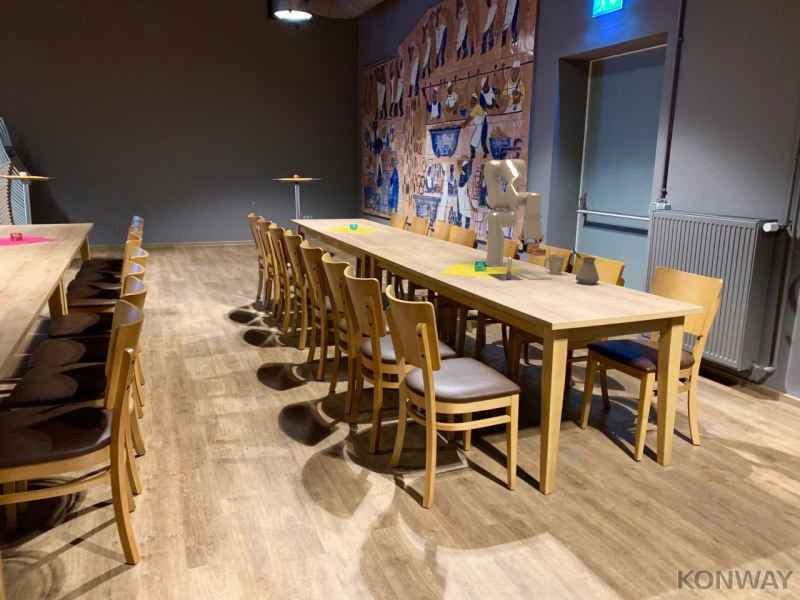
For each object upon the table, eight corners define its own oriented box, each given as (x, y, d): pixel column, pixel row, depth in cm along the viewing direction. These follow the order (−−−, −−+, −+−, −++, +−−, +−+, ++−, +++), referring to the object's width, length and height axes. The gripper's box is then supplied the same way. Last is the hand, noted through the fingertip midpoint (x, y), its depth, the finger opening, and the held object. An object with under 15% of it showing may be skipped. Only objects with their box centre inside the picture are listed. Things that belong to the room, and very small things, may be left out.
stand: (486, 276, 329) (488, 253, 326) (509, 275, 332) (511, 253, 329) (500, 282, 312) (501, 258, 309) (524, 281, 315) (525, 258, 312)
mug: (556, 275, 334) (558, 257, 332) (538, 272, 344) (539, 254, 341) (566, 274, 339) (567, 256, 337) (547, 270, 349) (548, 253, 347)
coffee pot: (603, 285, 311) (606, 255, 308) (583, 285, 308) (586, 255, 305) (579, 277, 331) (582, 249, 328) (560, 277, 328) (562, 249, 325)
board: (513, 274, 334) (513, 271, 333) (533, 274, 337) (533, 270, 336) (529, 282, 315) (530, 278, 314) (551, 281, 318) (551, 277, 317)
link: (523, 251, 328) (523, 242, 327) (533, 251, 329) (533, 242, 328) (535, 255, 315) (536, 245, 313) (545, 255, 316) (546, 245, 315)
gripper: (544, 216, 328) (541, 250, 332) (514, 216, 324) (512, 251, 328) (551, 217, 321) (548, 252, 325) (520, 217, 317) (518, 253, 321)
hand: (530, 251), depth 326 cm, fingers closed on link, 5 cm apart
